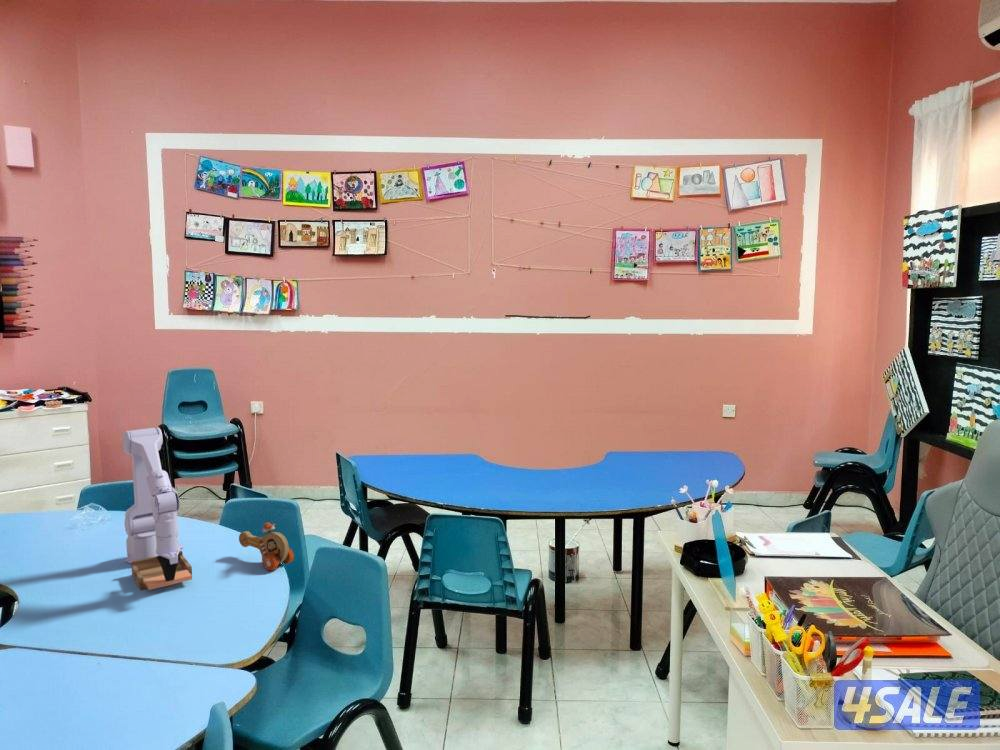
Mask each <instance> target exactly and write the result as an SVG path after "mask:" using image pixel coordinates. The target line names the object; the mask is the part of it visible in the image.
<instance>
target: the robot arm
mask: <svg viewBox="0 0 1000 750" xmlns="http://www.w3.org/2000/svg"><path fill="white" fill-rule="evenodd" d="M163 439H164V438H163V433H162V429H161V428H160V427H159V426H155V427H148V428H139V429H133V430H124V432H123V434H122V447H123V452H124V454H125V455H130V457H131V466H132V467H131V469H132V482H133V483H132V484H133V497H134V504H132V505H131V507H129V508H128V509H126V511H125V513H124V528H125V529H124V530H125V532H126V535H127V538H126V543H125V544H126V558H125V559H124V562H126V563H129V564H131V562H132V561H136V560H141V559H146V558H150V557H155V556H157V557H156V558H157V559H158V561H159V563H160V565H161V567H162V570H163V574H164V577H165V580H166V581H171V580H174V578H175V574H176V568H177V565H178V563H179V561H180V558H181V557H180V555H179V551H182V550H184V548H185V547H184V544H183V545H182V544H180V543H179V542H180V541H179V539H180V538H179V525H178V512H177V511H179V510H180V505H181V504H180V497H179V494H178V492H177V490H176V489H175V487H173V486H172V483H171V480H170V476H169V474H168V472H167V471H166V470H164V469H162V463H161V458H160V453H159V451H160V450H161V449H162V445H163V442H164V440H163Z"/></svg>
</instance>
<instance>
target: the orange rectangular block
mask: <svg viewBox="0 0 1000 750" xmlns="http://www.w3.org/2000/svg"><path fill="white" fill-rule="evenodd" d="M191 580H193V574H192V575H191V574H190V573H189V571H188V570H183V571H179V572H176V574H175V578H174V580H171V581H166V580H165V577H164V575H162V576H157V577H153V578H149V579H145V585H146V586H147V588H148V589H147V590H148V591H150V590H154V589H158V588H162V587H167V586H171V585H175V584H180V583H184V582H187V581H191Z"/></svg>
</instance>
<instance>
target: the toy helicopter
mask: <svg viewBox="0 0 1000 750" xmlns="http://www.w3.org/2000/svg"><path fill="white" fill-rule="evenodd" d="M275 526H276V524H275V523H273V524H271V522H266V523H264V525H263V528H262V529H261V531H262V533H263V534H264V535H263V536H262V537H260V536H256V535H253V534H252V533H251V531H247V530H245V531H242V532H240V534H239V535H238V541H239V544H240V545H241V546H242V547H243V548H248V547H253V548H256V549H257V550H259V553H260V554H261V555H260V556H261V561H262V563H263V565H264V568H265V569H266V570H267V571H270V572H272V571H274V570H276V569H277V568H278V567H279V565H280V564H282V563H283V564H289V563H292V562H293V561H294V558H295V554H294V552H293V550H292V548H290V547H289V542H288V539H287V538H286V536H285V535H283V533H281V532H278V531H273V530H275V529H276V527H275Z"/></svg>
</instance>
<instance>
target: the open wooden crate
mask: <svg viewBox="0 0 1000 750" xmlns="http://www.w3.org/2000/svg"><path fill="white" fill-rule="evenodd" d="M179 555H180V557H181V558H180V561H179V563H178V565H177V568H176V572H179V571H183V570H188V571H189V573H190V574H191V575H192V576H193V569H192V565H191V564H190V562H188V560H187V559H186V557H185V556H184V554H183V551H182V550H180V551H179ZM156 557H157V556H155V557H150V558H146V559H141V560H136V561H132V562H131V563H130V564H131V565H130V566H131V567H130V568H131V576H132V578H133V580H134V582H135V583H136V585H137V587H138V589H139V591H144V590H146V589H147V590H148V588H147V586H146V585H145V579H149V578H153V577H157V576H162V575H164V574H163V570H162V567H161V565H160V563H159V561H158V559H157V558H156Z"/></svg>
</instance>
